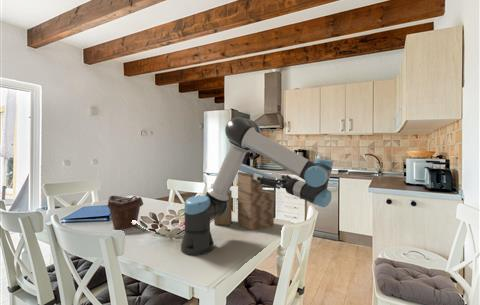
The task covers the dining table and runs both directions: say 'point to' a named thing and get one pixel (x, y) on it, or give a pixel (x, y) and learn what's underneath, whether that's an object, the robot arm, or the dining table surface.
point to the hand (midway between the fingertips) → (263, 174)
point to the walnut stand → (254, 203)
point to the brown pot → (124, 210)
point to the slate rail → (254, 171)
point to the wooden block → (227, 216)
